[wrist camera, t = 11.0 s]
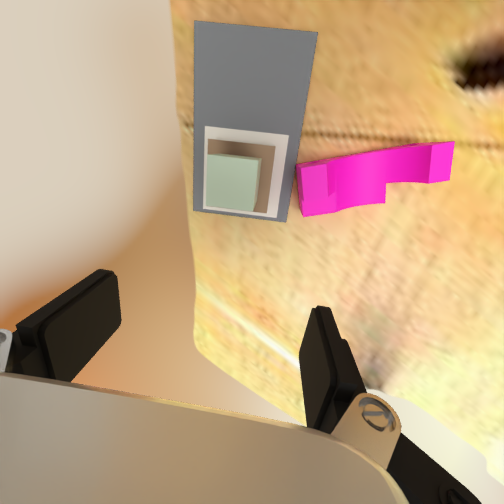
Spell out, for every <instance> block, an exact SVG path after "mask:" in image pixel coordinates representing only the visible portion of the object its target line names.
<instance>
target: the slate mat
mask: <svg viewBox="0 0 504 504" xmlns="http://www.w3.org/2000/svg"><path fill="white" fill-rule="evenodd" d="M317 36H318V32H310V31H300V30H289V29H278V28H268V27H257V26H246V25H236V24H225V23H214V22H204V21H194V173H193V211H200V212H207V213H215V214H223V215H231V216H239V217H247V218H255V219H263V220H271V221H279V222H286V220H287V214H288V208H289V202H290V196H291V190H292V184H293V178H294V173H295V167H296V161H297V155H298V149H299V143H300V137H301V131H302V125H303V119H304V113H305V107H306V101H307V95H308V89H309V83H310V77H311V71H312V65H313V59H314V53H315V48H316V42H317ZM208 139H216V140H225V141H233V142H242V143H251V144H260V145H268V146H276V148H275V155H274V163H273V171H272V178H271V186H270V193H269V201H268V208H267V213H259V212H251V211H243V210H235V209H227V208H219V207H211V206H206V179H207V154H208Z"/></svg>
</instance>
